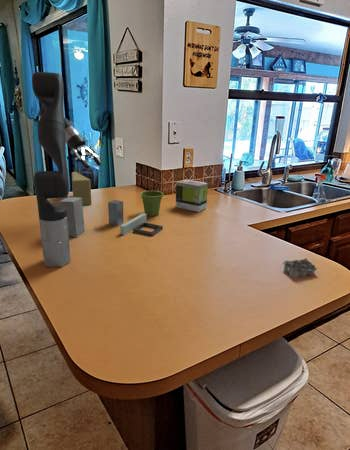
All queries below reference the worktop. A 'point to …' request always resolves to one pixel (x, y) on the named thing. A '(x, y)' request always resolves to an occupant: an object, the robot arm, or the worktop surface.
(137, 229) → the frame
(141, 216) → the door edge
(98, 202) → the worktop surface
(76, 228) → the skincare box
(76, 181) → the cheese
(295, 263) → the egg carton
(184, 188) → the tea box
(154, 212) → the plant pot
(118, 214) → the block
